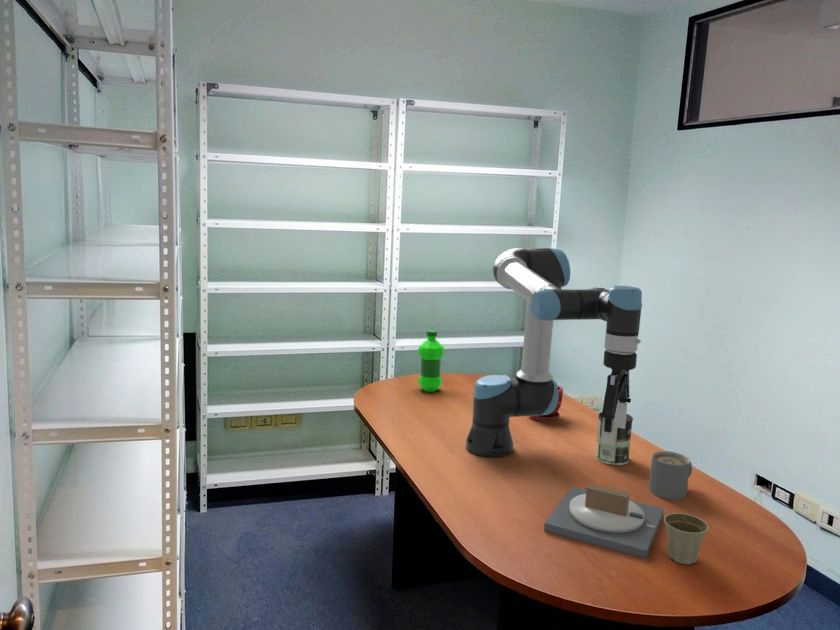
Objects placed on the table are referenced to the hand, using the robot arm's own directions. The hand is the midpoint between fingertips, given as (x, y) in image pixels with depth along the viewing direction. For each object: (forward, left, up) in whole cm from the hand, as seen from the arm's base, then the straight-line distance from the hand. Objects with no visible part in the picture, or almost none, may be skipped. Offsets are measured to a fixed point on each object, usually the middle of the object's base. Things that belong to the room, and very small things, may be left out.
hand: (613, 435), depth 160 cm
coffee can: (-8, +43, -23) cm, 49 cm away
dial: (0, 0, -21) cm, 21 cm away
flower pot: (+19, -7, -23) cm, 31 cm away
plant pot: (-39, +69, -23) cm, 82 cm away
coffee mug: (+12, +29, -23) cm, 39 cm away
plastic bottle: (-90, +76, -23) cm, 120 cm away
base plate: (0, 0, -23) cm, 23 cm away
